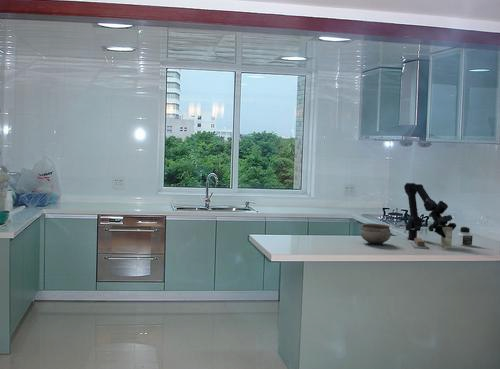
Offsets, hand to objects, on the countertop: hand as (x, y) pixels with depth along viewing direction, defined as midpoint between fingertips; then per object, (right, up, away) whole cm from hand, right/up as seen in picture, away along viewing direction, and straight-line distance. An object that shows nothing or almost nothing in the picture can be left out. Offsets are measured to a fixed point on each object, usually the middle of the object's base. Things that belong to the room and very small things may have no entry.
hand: (448, 237), depth 383 cm
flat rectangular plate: (-18, -6, +3) cm, 19 cm away
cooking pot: (-46, -5, +3) cm, 46 cm away
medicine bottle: (+16, -7, +17) cm, 24 cm away
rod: (-1, -6, +2) cm, 7 cm away
